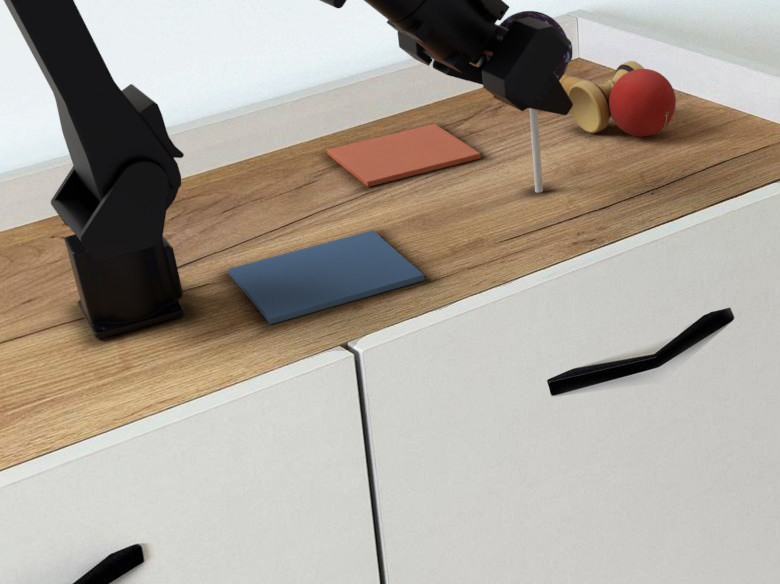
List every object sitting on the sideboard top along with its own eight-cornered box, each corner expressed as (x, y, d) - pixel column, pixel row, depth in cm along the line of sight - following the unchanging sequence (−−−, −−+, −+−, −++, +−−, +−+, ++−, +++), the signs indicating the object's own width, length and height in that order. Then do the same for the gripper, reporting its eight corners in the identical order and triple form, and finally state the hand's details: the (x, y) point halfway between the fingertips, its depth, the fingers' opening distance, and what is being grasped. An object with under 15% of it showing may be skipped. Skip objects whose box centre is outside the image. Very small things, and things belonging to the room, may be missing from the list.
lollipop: (510, 212, 107) (495, 29, 100) (489, 184, 113) (473, 8, 105) (590, 198, 109) (581, 16, 101) (565, 170, 114) (555, -4, 107)
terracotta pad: (367, 187, 114) (366, 181, 114) (327, 154, 122) (326, 149, 122) (481, 158, 118) (480, 153, 118) (435, 128, 126) (434, 123, 126)
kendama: (509, 124, 129) (629, 143, 116) (508, 58, 128) (630, 69, 114) (571, 118, 134) (694, 135, 120) (571, 54, 132) (696, 64, 118)
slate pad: (270, 324, 93) (269, 318, 93) (229, 274, 101) (227, 268, 101) (424, 280, 98) (424, 274, 97) (373, 235, 105) (373, 229, 105)
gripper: (538, -88, 90) (671, 39, 100) (415, -119, 104) (543, -5, 114) (447, 50, 91) (589, 163, 101) (338, 0, 105) (471, 104, 115)
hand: (547, 99), depth 108 cm, fingers closed on lollipop, 6 cm apart
